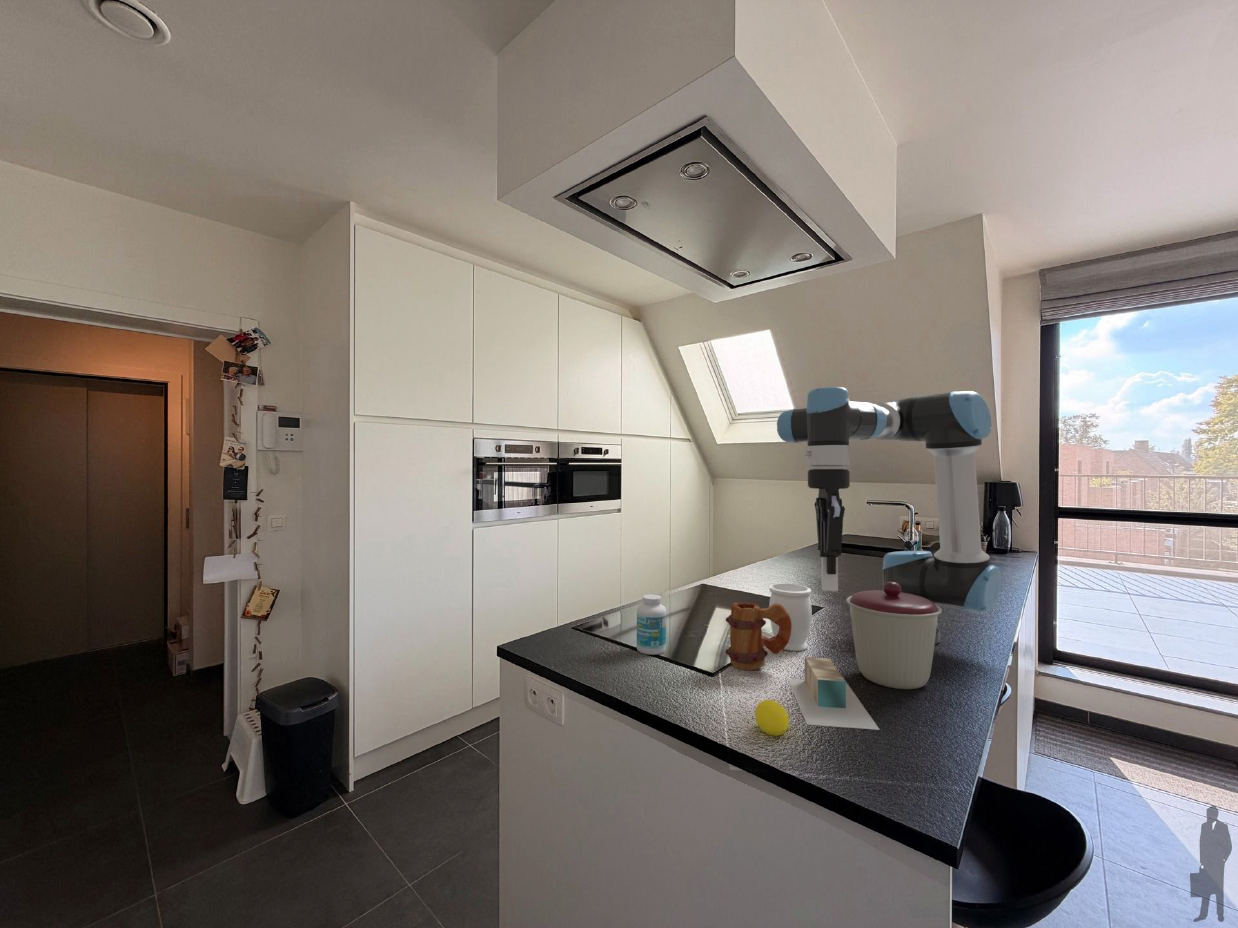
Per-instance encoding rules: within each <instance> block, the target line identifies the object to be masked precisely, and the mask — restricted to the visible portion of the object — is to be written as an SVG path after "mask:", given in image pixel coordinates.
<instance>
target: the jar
mask: <svg viewBox="0 0 1238 928" xmlns="http://www.w3.org/2000/svg"><path fill="white" fill-rule="evenodd" d="M768 590H769V591H770V593H771V594H770V597H769V604H768V605H769V606H768V607H770V606H771V605H773V604H775V603H778V604H781V605H782V606H783V607H784V608H785V609H786V611H787V612H788V614H789V616H790V618H791V624H792V627H791V635H790V639H789V642H788V644H787V645H786V647H785V648H784V649H783V651H784V650H785V651H789V652H790V651H792V652H801V651H805V650H807V648H808V644H807V642H806V641H807V639H808V637H809V634H810V629H811V624H812V613H813V612H812V610H813V609H812V602H811V599H810V598H811V597H810V595H812V588H810V587H808V586H805V585H800V584H796V583H795V584H794V583H775V584H770V585H769V588H768ZM770 625H771V631H772V633H773V635H774V637H776V635H777V634H778V632H779V626H778V625H777V624H775V623H774V622H772V621H771V620H770Z"/></svg>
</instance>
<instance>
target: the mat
mask: <svg viewBox="0 0 1238 928" xmlns="http://www.w3.org/2000/svg"><path fill="white" fill-rule="evenodd" d="M787 682H788V684H789V686H790V688H791V690H792V693H793V695H794V697H795V700H796V702H797V704H798V707H799V709H800V711H801V714H802V716H803V718H804V721H805V723H806V725H809V726H810V725H811V726H822V727H823V726H824V727H834V728H835V727H837V728H848V729H849V728H850V729H861V730H862V729H864V730H865V729H866V730H874V731H875V730H876V731H880V730H881V729H880V728H879V727H878V725H877V723H876V721H874V720H873V718H872V716H871V715H870V714H869V712H868V711H867V709H866V707H864V705H863V703H862V702H861V701H860V699H859V698H858V697H857V695H856V694H855V692H854V691H853V689H852V688H851V687H850V685H849V684H848V683H847V682H846V708H835V707H820V706H818V705H817V703H816V701H815V699H814V697H813V696H812V694H811V692H810V690H809V688H808V686H807V684H806V682H805V679H796V678H795V679H794V678H793V679H792V678H787Z"/></svg>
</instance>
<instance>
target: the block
mask: <svg viewBox="0 0 1238 928" xmlns="http://www.w3.org/2000/svg"><path fill="white" fill-rule="evenodd" d="M804 680H805V682H806V684H807V686H808V688H809V690H810V692H811V694H812V696H813V697H814V699H815V701H816V703H817V705H818V706H820V707H835V708H846V683H847V681H846V680H845V679H844V677H843V676H842V674H841V673H840V672H839V670H838V668H837V667H836V666H835V664H834V663H833V661H832V660H831V658H825V657H806V656H805V657H804Z"/></svg>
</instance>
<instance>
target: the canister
mask: <svg viewBox="0 0 1238 928" xmlns="http://www.w3.org/2000/svg"><path fill="white" fill-rule="evenodd" d="M883 590H884V591H883ZM846 603H847V604H848V605H849V611H850V619H851V626H852V627H851V629H852V635H853V637H852V638H853V643H854V650H855V651H854V652H855V657H856V664H857V668H858V669H859V671H860V673H861V674H862V676H863V677H864V678H865V679H867V680H868V681H871V682H872V683H874V684H876V685H880V686H883V687H887V688H890V689H891V688H893V689H898V690H914V689H916V690H917V689H920V688H923V687H924V686H925V685H926V684H927V683H928V681H929V679H930V676H931V672H932V667H933V658H934V652H935V645H936V644H935V636H936V628H937V625H938V616H939V615H941V613H942V610H943V609H942V607H940V606H939V604H935V603H933V602H932V601H930V600H928V599H926V598H924V597H921V596H917V595H913V594H908V593H903V592H901V586H900V585H899V584H898V583H896V582H886V583H885V584H884V585H883V584H882V590H873V589H872V590H862V591H859V592H855V593H853V595H850V596H848V597H847V598H846Z"/></svg>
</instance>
